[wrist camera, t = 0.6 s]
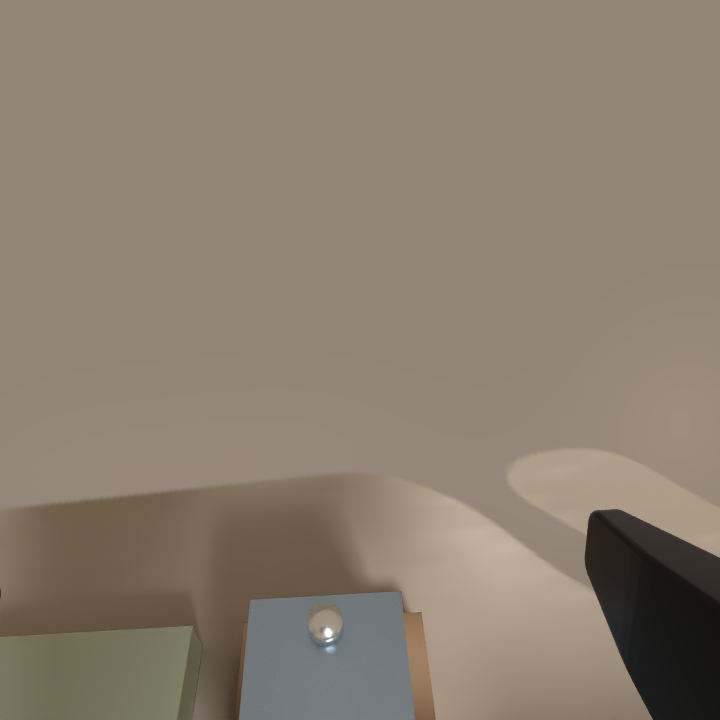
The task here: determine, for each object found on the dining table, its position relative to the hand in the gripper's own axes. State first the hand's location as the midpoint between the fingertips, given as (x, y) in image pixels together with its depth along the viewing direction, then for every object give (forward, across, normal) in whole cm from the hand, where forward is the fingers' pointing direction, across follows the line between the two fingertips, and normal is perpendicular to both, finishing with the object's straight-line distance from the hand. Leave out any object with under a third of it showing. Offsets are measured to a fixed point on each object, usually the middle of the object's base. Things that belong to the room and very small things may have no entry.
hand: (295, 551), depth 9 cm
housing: (+6, 0, +13) cm, 15 cm away
